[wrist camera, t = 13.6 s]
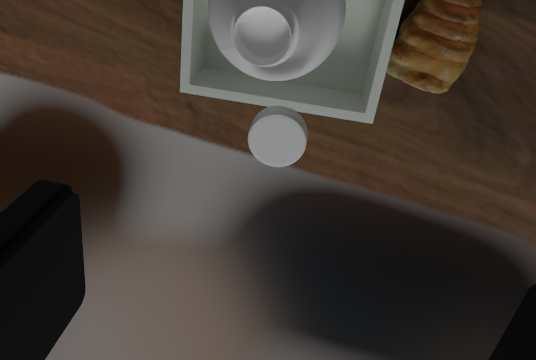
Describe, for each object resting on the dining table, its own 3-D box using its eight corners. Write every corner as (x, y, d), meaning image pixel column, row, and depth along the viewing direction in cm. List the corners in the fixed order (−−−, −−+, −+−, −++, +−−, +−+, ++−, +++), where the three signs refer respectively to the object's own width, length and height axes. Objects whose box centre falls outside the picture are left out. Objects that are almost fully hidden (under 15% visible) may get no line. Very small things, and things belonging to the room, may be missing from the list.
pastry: (423, -36, 39) (433, -32, 36) (499, -10, 39) (515, -3, 36) (377, 69, 44) (382, 82, 40) (445, 92, 44) (455, 107, 41)
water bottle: (255, -68, 38) (157, -45, 17) (336, -81, 37) (344, -75, 15) (270, 41, 42) (207, 173, 21) (343, 32, 41) (358, 162, 20)
